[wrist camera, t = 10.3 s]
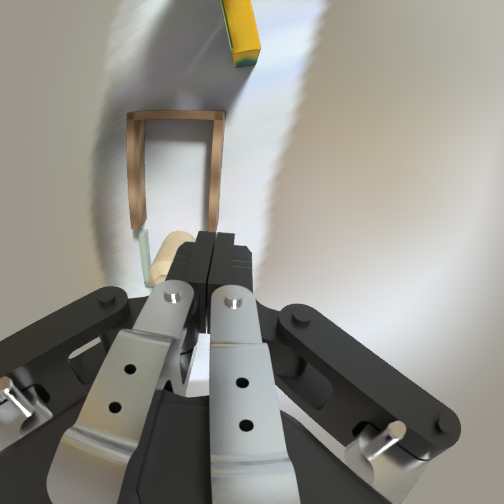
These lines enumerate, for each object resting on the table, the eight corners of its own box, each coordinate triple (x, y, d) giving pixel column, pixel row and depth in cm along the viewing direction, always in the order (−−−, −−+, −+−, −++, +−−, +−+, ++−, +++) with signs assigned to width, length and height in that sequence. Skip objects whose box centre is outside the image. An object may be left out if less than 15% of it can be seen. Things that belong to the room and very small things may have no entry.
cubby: (138, 111, 31) (127, 112, 28) (225, 111, 32) (223, 112, 29) (140, 217, 39) (131, 228, 36) (218, 222, 40) (215, 234, 37)
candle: (192, 265, 44) (180, 307, 35) (160, 254, 43) (142, 293, 34) (203, 237, 42) (192, 276, 33) (169, 225, 40) (149, 261, 32)
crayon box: (257, 64, 29) (262, 46, 19) (234, 68, 29) (228, 51, 19) (247, 17, 25) (248, -17, 15) (224, 21, 26) (215, -12, 16)
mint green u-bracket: (141, 229, 40) (138, 233, 39) (217, 234, 41) (216, 239, 40) (147, 281, 46) (145, 286, 44) (215, 287, 46) (214, 293, 45)
